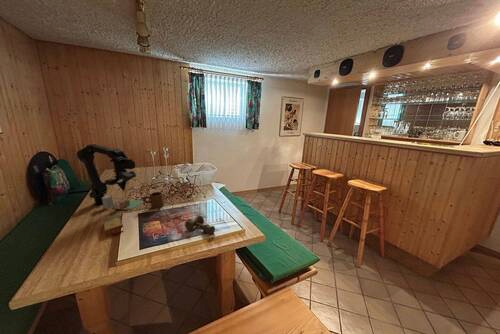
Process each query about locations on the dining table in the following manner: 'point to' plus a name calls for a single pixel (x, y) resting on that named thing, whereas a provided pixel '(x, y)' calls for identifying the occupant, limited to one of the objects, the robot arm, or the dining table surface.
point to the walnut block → (122, 204)
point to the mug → (155, 199)
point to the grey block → (107, 202)
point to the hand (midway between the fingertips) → (123, 190)
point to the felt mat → (134, 203)
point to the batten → (122, 208)
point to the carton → (112, 225)
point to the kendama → (199, 222)
